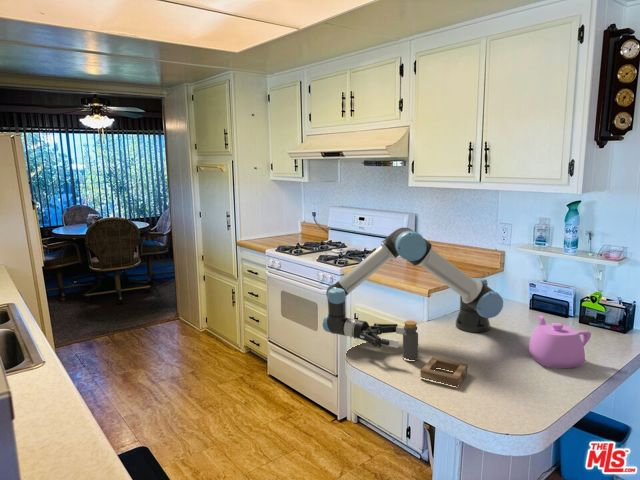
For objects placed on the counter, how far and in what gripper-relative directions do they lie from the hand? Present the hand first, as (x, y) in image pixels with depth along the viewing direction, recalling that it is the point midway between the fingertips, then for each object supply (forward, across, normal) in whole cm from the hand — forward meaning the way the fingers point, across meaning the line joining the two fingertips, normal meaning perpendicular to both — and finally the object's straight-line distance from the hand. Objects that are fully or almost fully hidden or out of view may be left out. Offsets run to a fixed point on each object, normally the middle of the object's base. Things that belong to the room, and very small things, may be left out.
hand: (404, 338), depth 174 cm
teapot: (+50, -26, -9) cm, 57 cm away
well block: (+18, +7, -8) cm, 21 cm away
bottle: (+2, 0, -8) cm, 9 cm away
